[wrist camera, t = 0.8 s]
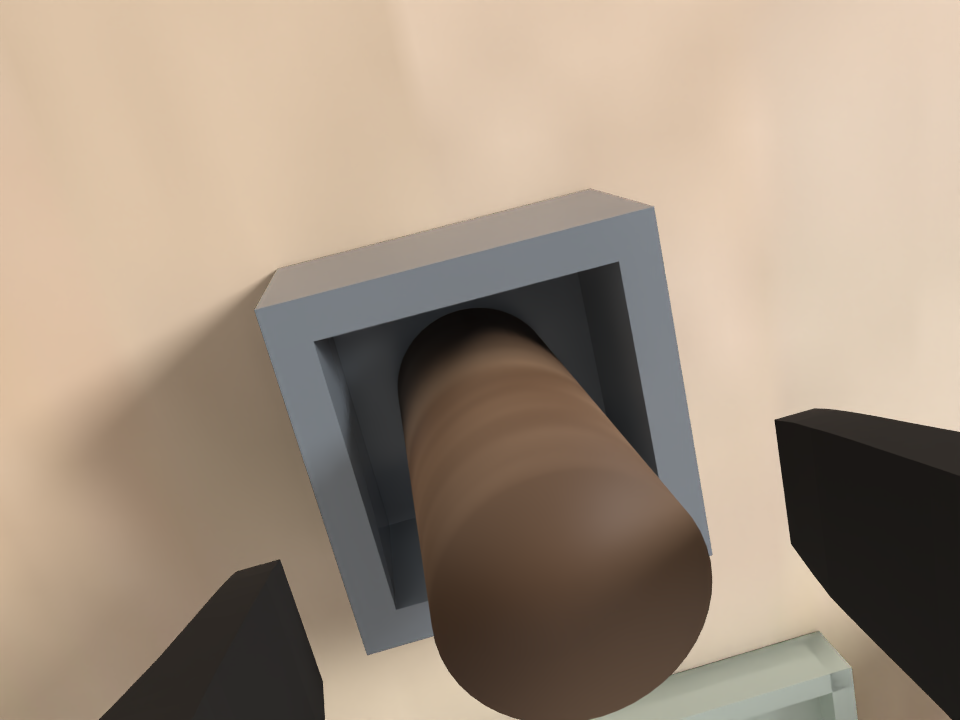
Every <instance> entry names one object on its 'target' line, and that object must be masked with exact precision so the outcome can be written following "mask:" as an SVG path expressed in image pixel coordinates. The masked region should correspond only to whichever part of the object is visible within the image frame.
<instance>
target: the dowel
mask: <svg viewBox="0 0 960 720" xmlns="http://www.w3.org/2000/svg"><path fill="white" fill-rule="evenodd" d="M398 398H399V405H400V412H401V419H402V426H403V432H404V439H405V446H406V453H407V460H408V467H409V474H410V480H411V487H412V494H413V501H414V508H415V515H416V522H417V529H418V535H419V542H420V549H421V556H422V563H423V570H424V577H425V583H426V590H427V597H428V604H429V611H430V618H431V625H432V630H433V634H434V639H435V643H436V646H437V648H438V651H439V654H440V656H441V658H442V660H443V662H444V664H445V666H446V667H447V669H448V671H449V672H450V674H451V675H452V676H453V677H454V679H455V680H456V681H457V682H458V684H459V685H460V686H461V687H462V688H463V689H464V690H466V691H467V692H468V693H469V694H470V695H471V696H472V697H474V698H475V699H477V700H478V701H479V702H481V703H482V704H484V705H485V706H487V707H489V708H491V709H493V710H495V711H497V712H499V713H502V714H504V715H507V716H510V717H513V718H516V719H521V720H590V719H594V718H598V717H602V716H605V715H608V714H610V713H613V712H616V711H618V710H620V709H623V708H625V707H627V706H629V705H631V704H633V703H635V702H636V701H638V700H639V699H641V698H643V697H644V696H646V695H647V694H649V693H650V692H652V691H653V690H654V689H655V688H657V687H658V686H659V685H661V684H662V683H663V682H664V681H665V680H666V679H667V678H668V677H669V676H670V675H671V674H672V673H673V672H674V671H675V670H676V669H677V668H678V667H679V665H680V664H681V663H682V662H683V660H684V659H685V658H686V657H687V655H688V654H689V652H690V650H691V649H692V647H693V646H694V644H695V643H696V641H697V639H698V637H699V634H700V632H701V630H702V628H703V626H704V623H705V620H706V617H707V614H708V610H709V605H710V600H711V594H712V570H711V561H710V557H709V553H708V549H707V546H706V543H705V541H704V538H703V536H702V534H701V531H700V530H699V528H698V526H697V525H696V523H695V521H694V520H693V518H692V517H691V516H690V514H689V513H688V512H687V511H686V510H685V508H684V507H683V506H682V505H681V504H680V503H679V501H678V500H677V499H676V498H675V497H674V495H673V494H672V493H671V492H670V491H669V490H668V488H667V487H666V486H665V485H664V484H663V482H662V481H661V480H660V479H659V478H658V477H657V475H656V474H655V473H654V472H653V471H652V469H651V468H650V467H649V466H648V465H647V464H646V462H645V461H644V460H643V459H642V458H641V456H640V455H639V454H638V453H637V452H636V451H635V449H634V448H633V447H632V446H631V445H630V443H629V442H628V441H627V440H626V439H625V438H624V436H623V435H622V434H621V433H620V432H619V430H618V429H617V428H616V427H615V426H614V425H613V423H612V422H611V421H610V420H609V419H608V417H607V416H606V415H605V414H604V413H603V412H602V410H601V409H600V408H599V407H598V406H597V404H596V403H595V402H594V401H593V400H592V399H591V397H590V396H589V395H588V394H587V393H586V391H585V390H584V389H583V388H582V387H581V386H580V384H579V383H578V382H577V381H576V380H575V378H574V377H573V376H572V375H571V374H570V373H569V371H568V370H567V369H566V368H565V367H564V365H563V364H562V363H561V362H560V361H559V360H558V358H557V357H556V356H555V355H554V354H553V352H552V351H551V350H550V349H549V348H548V347H547V345H546V344H545V343H544V342H543V341H542V339H541V338H540V337H539V336H538V335H537V334H536V332H535V331H534V330H533V329H532V328H531V327H530V326H528V325H527V324H526V323H525V322H523V321H522V320H520V319H519V318H517V317H515V316H513V315H511V314H509V313H506V312H503V311H500V310H495V309H490V308H468V309H463V310H458V311H455V312H452V313H449V314H447V315H445V316H443V317H440V318H438V319H437V320H435V321H434V322H432V323H431V324H429V325H428V326H427V327H426V328H425V329H423V330H422V331H421V332H420V333H419V334H418V336H417V337H416V338H415V339H414V340H413V342H412V343H411V345H410V346H409V347H408V349H407V351H406V353H405V355H404V357H403V360H402V363H401V366H400V370H399V375H398Z"/></svg>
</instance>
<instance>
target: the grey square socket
mask: <svg viewBox="0 0 960 720" xmlns="http://www.w3.org/2000/svg"><path fill="white" fill-rule="evenodd" d="M468 308H490V309H495V310H500V311H503V312H506V313H509V314H511V315H513V316H515V317H517V318H519V319H520V320H522V321H523V322H525V323H526V324H527V325H528V326H530V327H531V328H532V329H533V330H534V331H535V332H536V334H537V335H538V336H539V337H540V338H541V339H542V341H543V342H544V343H545V344H546V345H547V347H548V348H549V349H550V350H551V351H552V352H553V354H554V355H555V356H556V357H557V358H558V360H559V361H560V362H561V363H562V364H563V365H564V367H565V368H566V369H567V370H568V371H569V373H570V374H571V375H572V376H573V377H574V378H575V380H576V381H577V382H578V383H579V384H580V386H581V387H582V388H583V389H584V390H585V391H586V393H587V394H588V395H589V396H590V397H591V399H592V400H593V401H594V402H595V403H596V404H597V406H598V407H599V408H600V409H601V410H602V412H603V413H604V414H605V415H606V416H607V417H608V419H609V420H610V421H611V422H612V423H613V425H614V426H615V427H616V428H617V429H618V430H619V432H620V433H621V434H622V435H623V436H624V438H625V439H626V440H627V441H628V442H629V443H630V445H631V446H632V447H633V448H634V449H635V451H636V452H637V453H638V454H639V455H640V456H641V458H642V459H643V460H644V461H645V462H646V464H647V465H648V466H649V467H650V468H651V469H652V471H653V472H654V473H655V474H656V475H657V477H658V478H659V479H660V480H661V481H662V482H663V484H664V485H665V486H666V487H667V488H668V490H669V491H670V492H671V493H672V494H673V495H674V497H675V498H676V499H677V500H678V501H679V503H680V504H681V505H682V506H683V507H684V508H685V510H686V511H687V512H688V513H689V514H690V516H691V517H692V518H693V520H694V521H695V523H696V525H697V526H698V528H699V530H700V531H701V534H702V536H703V538H704V541H705V543H706V546H707V549H708V553H709V556H711V555H712V549H711V543H710V537H709V531H708V525H707V519H706V513H705V507H704V501H703V496H702V490H701V484H700V478H699V472H698V466H697V460H696V454H695V448H694V442H693V436H692V430H691V424H690V418H689V412H688V406H687V400H686V394H685V388H684V382H683V376H682V370H681V365H680V359H679V353H678V347H677V341H676V335H675V329H674V323H673V317H672V311H671V305H670V299H669V293H668V287H667V281H666V275H665V269H664V263H663V257H662V251H661V245H660V240H659V234H658V228H657V222H656V216H655V210H654V206H651V205H647V204H644V203H640V202H636V201H633V200H629V199H626V198H622V197H619V196H615V195H612V194H608V193H605V192H601V191H597V190H594V189H587V190H583V191H579V192H575V193H571V194H567V195H563V196H560V197H556V198H552V199H548V200H544V201H540V202H536V203H532V204H528V205H524V206H521V207H517V208H513V209H509V210H505V211H501V212H497V213H493V214H489V215H485V216H481V217H478V218H474V219H470V220H466V221H462V222H458V223H454V224H450V225H446V226H442V227H439V228H435V229H431V230H427V231H423V232H419V233H415V234H411V235H407V236H403V237H399V238H396V239H392V240H388V241H384V242H380V243H376V244H372V245H368V246H364V247H360V248H357V249H353V250H349V251H345V252H341V253H337V254H333V255H329V256H325V257H321V258H317V259H314V260H310V261H306V262H302V263H298V264H294V265H290V266H286V267H282V268H278V269H277V270H276V272H275V274H274V275H273V277H272V279H271V281H270V283H269V284H268V286H267V288H266V290H265V292H264V293H263V295H262V297H261V299H260V301H259V302H258V304H257V306H256V308H255V310H254V311H255V314H256V317H257V320H258V323H259V326H260V329H261V332H262V335H263V338H264V341H265V344H266V347H267V350H268V354H269V357H270V360H271V363H272V366H273V369H274V372H275V375H276V378H277V381H278V384H279V387H280V390H281V393H282V396H283V399H284V402H285V405H286V409H287V412H288V415H289V418H290V421H291V424H292V427H293V430H294V433H295V436H296V439H297V442H298V445H299V448H300V451H301V454H302V457H303V461H304V464H305V467H306V470H307V473H308V476H309V479H310V482H311V485H312V488H313V491H314V494H315V497H316V500H317V503H318V506H319V509H320V513H321V516H322V519H323V522H324V525H325V528H326V531H327V534H328V537H329V540H330V543H331V546H332V549H333V552H334V555H335V558H336V561H337V565H338V568H339V571H340V574H341V577H342V580H343V583H344V586H345V589H346V592H347V595H348V598H349V601H350V604H351V607H352V610H353V613H354V617H355V620H356V623H357V626H358V629H359V632H360V635H361V638H362V641H363V644H364V647H365V650H366V653H367V655H370V654H373V653H377V652H380V651H384V650H387V649H391V648H394V647H398V646H401V645H404V644H408V643H411V642H415V641H418V640H422V639H425V638H429V637H432V636H434V634H433V630H432V625H431V618H430V611H429V604H428V597H427V590H426V583H425V577H424V570H423V563H422V556H421V549H420V542H419V535H418V529H417V522H416V515H415V508H414V501H413V494H412V487H411V480H410V474H409V467H408V460H407V453H406V446H405V439H404V432H403V426H402V419H401V412H400V405H399V398H398V375H399V370H400V366H401V363H402V360H403V357H404V355H405V353H406V351H407V349H408V347H409V346H410V345H411V343H412V342H413V340H414V339H415V338H416V337H417V336H418V334H419V333H420V332H421V331H422V330H423V329H425V328H426V327H427V326H428V325H429V324H431V323H432V322H434V321H435V320H437V319H438V318H440V317H443V316H445V315H447V314H449V313H452V312H455V311H458V310H463V309H468Z"/></svg>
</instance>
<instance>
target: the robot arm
mask: <svg viewBox="0 0 960 720" xmlns="http://www.w3.org/2000/svg"><path fill="white" fill-rule="evenodd" d="M775 427H776V435H777V442H778V450H779V457H780V465H781V472H782V480H783V487H784V495H785V502H786V510H787V517H788V525H789V532H790V540H791V544H792V546H793V547H794V549H795V550H796V551H797V553H798V554H799V556H800V557H801V558H802V560H803V561H804V562H805V564H806V565H807V567H808V568H809V569H810V571H811V572H812V574H813V575H814V576H815V577H816V579H817V580H818V581H819V583H820V584H821V585H822V587H823V588H824V589H825V590H826V592H827V593H828V594H829V596H830V597H831V598H832V599H833V600H834V601H835V602H836V603H837V604H838V605H839V606H840V607H841V608H842V609H843V610H844V611H845V612H846V614H847V615H848V616H849V617H850V618H851V619H852V620H853V621H854V622H855V623H856V624H857V625H858V626H859V627H860V628H861V629H862V630H863V631H864V632H865V633H866V634H867V635H868V636H869V637H870V638H871V639H872V640H873V641H874V642H875V643H876V644H877V645H878V646H879V647H880V648H881V649H882V650H883V651H884V652H885V653H886V654H887V655H888V656H889V657H890V658H891V659H892V660H893V661H894V662H895V663H896V664H897V665H898V666H899V667H900V668H901V669H902V670H903V671H904V672H905V673H906V674H907V675H908V676H909V677H910V678H911V679H912V680H913V681H914V682H915V683H916V684H917V685H918V686H919V687H920V688H921V689H922V690H923V691H924V692H925V693H926V694H927V695H928V696H929V697H930V698H931V699H932V700H933V701H934V702H935V703H936V704H937V705H938V706H939V707H940V708H941V709H942V710H943V711H944V712H945V713H946V714H947V715H948V716H949V717H950V718H951V719H952V720H960V432H957V431H951V430H946V429H940V428H935V427H930V426H924V425H919V424H914V423H908V422H903V421H898V420H893V419H887V418H882V417H877V416H871V415H866V414H860V413H853V412H847V411H840V410H831V409H811V410H807V411H804V412H800V413H797V414H793V415H790V416H786V417H783V418H779V419H776V420H775ZM99 720H325V712H324V694H323V681H322V678H321V675H320V672H319V669H318V666H317V664H316V661H315V658H314V655H313V652H312V649H311V646H310V644H309V641H308V638H307V635H306V632H305V629H304V627H303V624H302V621H301V618H300V615H299V612H298V609H297V607H296V604H295V601H294V598H293V595H292V592H291V589H290V587H289V584H288V581H287V578H286V575H285V572H284V570H283V567H282V564H281V561H280V560H276V561H272V562H269V563H265V564H262V565H258V566H255V567H251V568H248V569H244V570H241V571H237V572H235V573H234V574H233V575H232V576H231V577H230V578H229V579H228V580H227V581H226V582H225V583H224V584H223V585H222V586H221V587H220V588H219V590H218V591H217V592H216V593H215V594H214V595H213V596H212V597H211V599H210V600H209V601H208V602H207V603H206V604H205V606H204V607H203V608H202V609H201V610H200V611H199V612H198V614H197V615H196V616H195V617H194V618H193V619H192V621H191V622H190V623H189V624H188V625H187V626H186V627H185V629H184V630H183V631H182V632H181V633H180V634H179V635H178V637H177V638H176V639H175V640H174V641H173V642H172V643H171V644H170V646H169V647H168V648H167V649H166V650H165V651H164V652H163V654H162V655H161V656H160V657H159V658H158V659H157V660H156V661H155V662H154V663H153V664H152V665H151V667H150V668H149V669H148V670H147V671H146V672H145V673H144V674H143V675H142V676H141V677H140V678H139V679H138V680H137V681H136V682H135V683H134V684H133V685H132V686H131V687H130V688H129V689H128V690H127V692H126V693H125V694H124V695H123V696H122V697H121V698H120V699H119V700H118V701H117V702H116V703H115V704H114V705H113V706H112V707H111V708H110V709H109V710H108V711H107V712H106V713H105V714H104V715H103V716H102V717H101V718H100V719H99Z"/></svg>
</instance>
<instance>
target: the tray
mask: <svg viewBox="0 0 960 720" xmlns="http://www.w3.org/2000/svg"><path fill="white" fill-rule="evenodd" d="M590 720H858V718H857V709H856V700H855V692H854V683H853V674H852V667H851V666H850V665H849V664H848V663H847V661H846V660H845V659H844V658H843V657H842V656H841V655H840V654H839V653H838V652H837V650H836V649H835V648H834V647H833V646H832V645H831V644H830V643H829V642H828V641H827V639H826V638H825V637H824V636H823V635H822V634H821V633H820V632H819V631H817V632H814V633H811V634H807V635H804V636H801V637H797V638H794V639H791V640H787V641H784V642H781V643H777V644H774V645H771V646H767V647H764V648H761V649H757V650H754V651H751V652H747V653H744V654H741V655H737V656H734V657H731V658H727V659H724V660H721V661H717V662H714V663H711V664H707V665H704V666H701V667H697V668H694V669H691V670H687V671H684V672H681V673H677V674H674V675H671V676H669V677H668V678H667V679H666V680H665V681H664V682H663V683H662V684H661V685H659V686H658V687H657V688H655V689H654V690H653V691H652V692H650V693H649V694H647V695H646V696H644V697H643V698H641V699H639V700H638V701H636V702H635V703H633V704H631V705H629V706H627V707H625V708H623V709H620V710H618V711H616V712H613V713H610V714H608V715H605V716H602V717H598V718H594V719H590Z"/></svg>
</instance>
